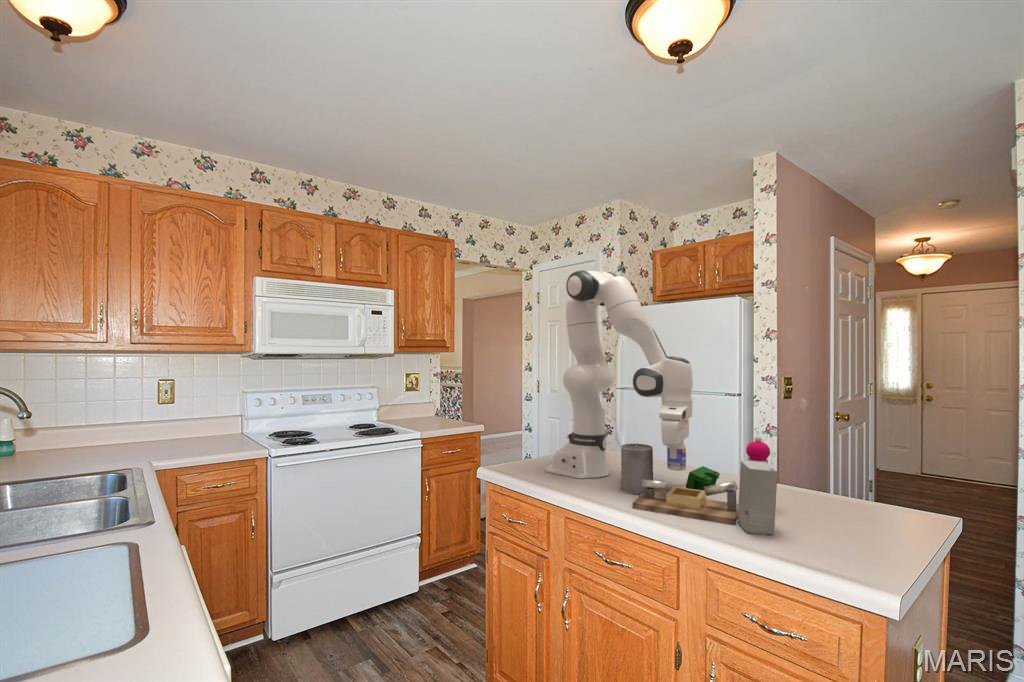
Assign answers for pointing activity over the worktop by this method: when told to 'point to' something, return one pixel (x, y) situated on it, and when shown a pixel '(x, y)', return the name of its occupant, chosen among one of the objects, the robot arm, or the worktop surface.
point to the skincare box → (757, 497)
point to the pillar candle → (636, 467)
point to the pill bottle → (680, 461)
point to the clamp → (701, 478)
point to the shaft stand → (690, 501)
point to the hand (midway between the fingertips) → (676, 456)
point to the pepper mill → (758, 450)
